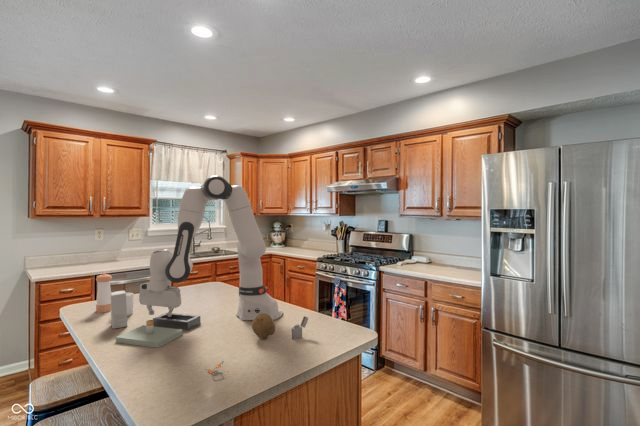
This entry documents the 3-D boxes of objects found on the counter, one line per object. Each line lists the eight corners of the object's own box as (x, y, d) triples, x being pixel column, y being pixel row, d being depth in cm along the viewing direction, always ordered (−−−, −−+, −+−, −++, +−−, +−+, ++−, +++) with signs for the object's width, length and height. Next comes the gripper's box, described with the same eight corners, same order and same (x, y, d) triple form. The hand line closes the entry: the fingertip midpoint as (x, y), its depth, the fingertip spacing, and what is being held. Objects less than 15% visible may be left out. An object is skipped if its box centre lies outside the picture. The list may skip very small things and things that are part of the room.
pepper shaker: (107, 312, 173) (106, 274, 173) (92, 312, 173) (92, 274, 173) (115, 308, 181) (115, 271, 180) (102, 308, 181) (101, 271, 180)
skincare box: (127, 326, 153) (127, 293, 152) (111, 329, 149) (111, 295, 149) (126, 321, 160) (125, 289, 159) (110, 324, 156) (110, 291, 156)
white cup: (111, 316, 168) (111, 295, 167) (126, 311, 175) (126, 292, 175) (123, 318, 165) (123, 297, 164) (137, 313, 172) (137, 293, 172)
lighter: (293, 339, 137) (293, 319, 137) (291, 338, 138) (291, 318, 138) (308, 335, 141) (308, 316, 140) (306, 334, 142) (306, 315, 142)
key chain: (234, 377, 107) (234, 374, 107) (210, 383, 104) (210, 380, 104) (225, 361, 118) (225, 359, 118) (202, 366, 115) (202, 363, 115)
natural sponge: (249, 336, 141) (249, 311, 141) (270, 332, 144) (270, 309, 144) (254, 344, 133) (254, 318, 132) (277, 340, 136) (276, 315, 136)
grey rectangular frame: (200, 323, 156) (200, 315, 156) (187, 330, 148) (187, 322, 148) (167, 320, 161) (167, 312, 161) (152, 326, 153) (152, 318, 152)
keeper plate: (182, 334, 143) (182, 317, 143) (158, 347, 130) (158, 329, 129) (143, 329, 148) (142, 313, 148) (115, 342, 135) (115, 324, 135)
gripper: (184, 285, 156) (184, 315, 156) (147, 282, 162) (147, 311, 162) (175, 288, 150) (174, 319, 150) (136, 285, 156) (136, 315, 156)
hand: (160, 315), depth 156 cm, fingers open, 8 cm apart
